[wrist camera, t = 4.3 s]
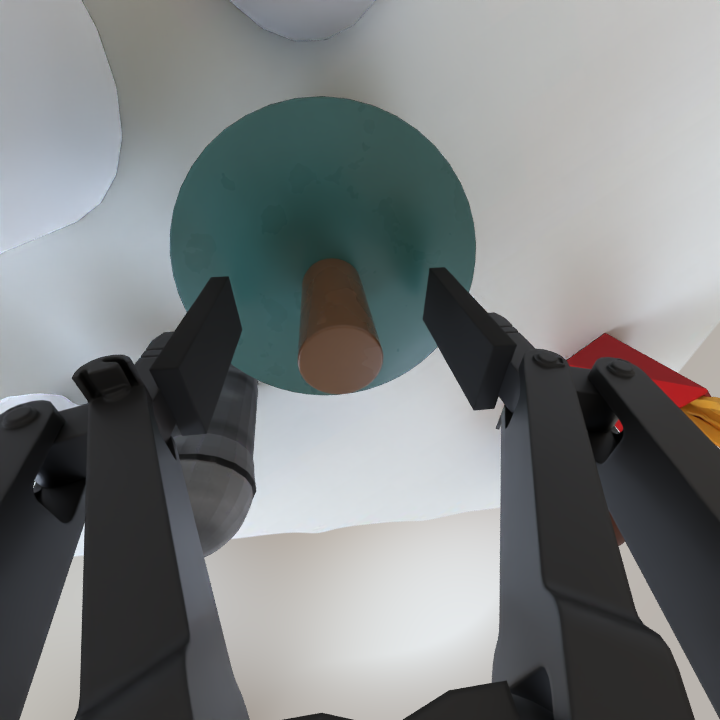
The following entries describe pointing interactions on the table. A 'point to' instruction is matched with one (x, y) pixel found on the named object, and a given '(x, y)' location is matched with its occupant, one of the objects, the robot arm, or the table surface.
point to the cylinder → (53, 118)
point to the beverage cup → (222, 463)
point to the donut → (304, 16)
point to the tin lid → (323, 240)
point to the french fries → (659, 383)
